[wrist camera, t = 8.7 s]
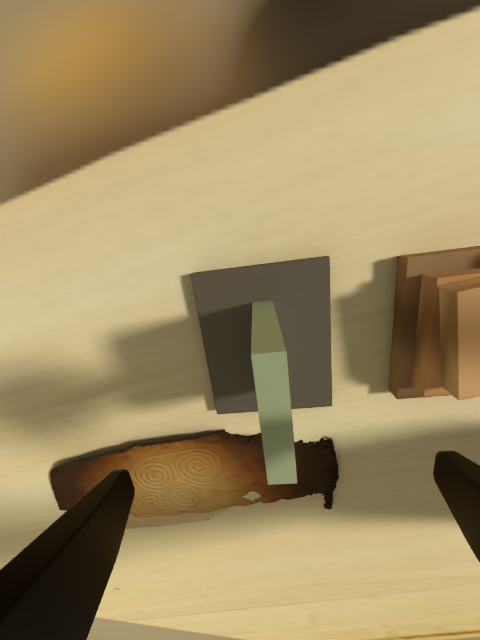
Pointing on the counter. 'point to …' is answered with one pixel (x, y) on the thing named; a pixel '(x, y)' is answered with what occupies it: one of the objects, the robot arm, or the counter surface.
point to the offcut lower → (432, 331)
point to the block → (273, 394)
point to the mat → (294, 320)
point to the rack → (417, 308)
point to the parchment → (198, 477)
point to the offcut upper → (460, 338)
